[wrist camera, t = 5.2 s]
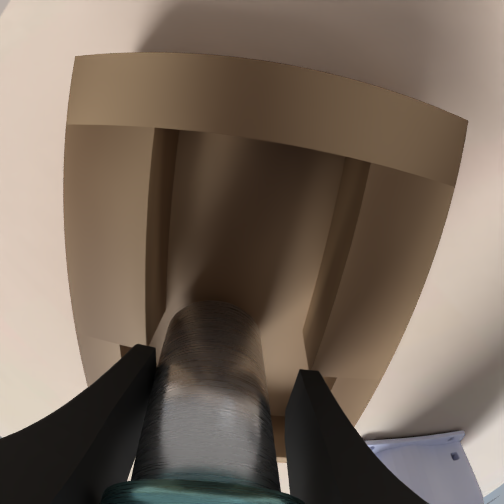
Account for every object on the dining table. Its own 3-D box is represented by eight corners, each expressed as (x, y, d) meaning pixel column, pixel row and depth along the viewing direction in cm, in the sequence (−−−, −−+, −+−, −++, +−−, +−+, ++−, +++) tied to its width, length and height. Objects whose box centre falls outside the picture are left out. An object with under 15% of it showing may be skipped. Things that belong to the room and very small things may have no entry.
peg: (288, 296, 11) (349, 506, 4) (261, 388, 13) (280, 559, 6) (155, 276, 11) (74, 482, 3) (151, 374, 12) (114, 544, 5)
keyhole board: (413, 118, 10) (468, 120, 7) (321, 408, 16) (330, 463, 13) (126, 71, 10) (75, 56, 7) (123, 378, 16) (100, 429, 12)
